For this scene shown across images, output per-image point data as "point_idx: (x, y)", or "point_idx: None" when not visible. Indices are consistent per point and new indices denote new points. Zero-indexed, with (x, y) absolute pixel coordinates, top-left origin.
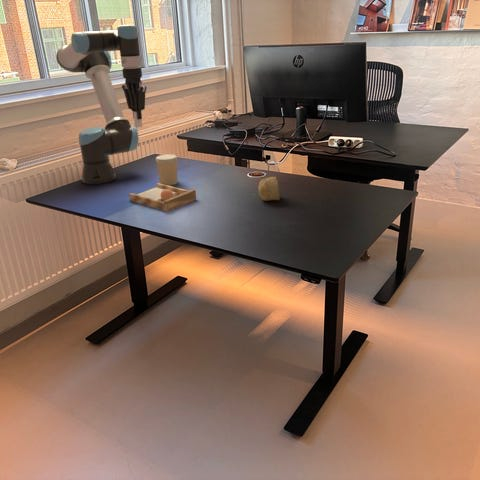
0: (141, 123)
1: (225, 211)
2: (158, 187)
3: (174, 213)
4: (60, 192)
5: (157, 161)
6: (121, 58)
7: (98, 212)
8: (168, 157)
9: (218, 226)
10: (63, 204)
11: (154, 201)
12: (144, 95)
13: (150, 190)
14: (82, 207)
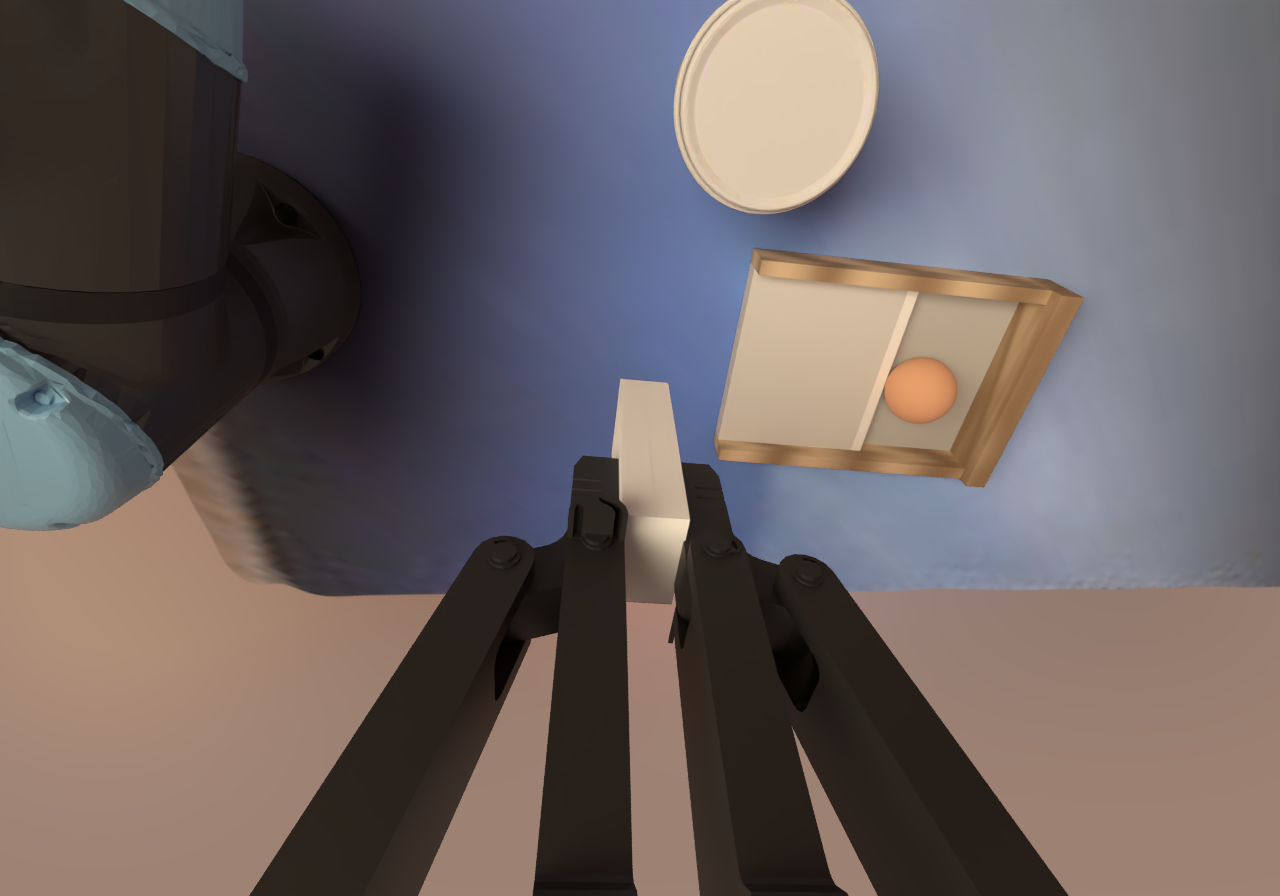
0: (669, 412)
1: (1246, 348)
2: None
3: (999, 460)
4: (314, 502)
5: (736, 208)
6: None
7: None
8: (806, 108)
9: (1227, 480)
10: None
11: (897, 472)
12: (1029, 875)
13: (756, 332)
14: None
